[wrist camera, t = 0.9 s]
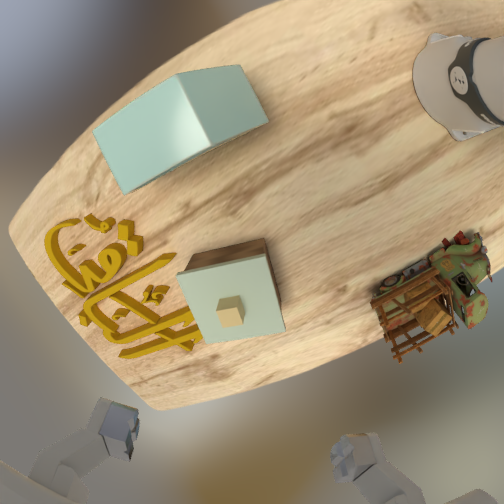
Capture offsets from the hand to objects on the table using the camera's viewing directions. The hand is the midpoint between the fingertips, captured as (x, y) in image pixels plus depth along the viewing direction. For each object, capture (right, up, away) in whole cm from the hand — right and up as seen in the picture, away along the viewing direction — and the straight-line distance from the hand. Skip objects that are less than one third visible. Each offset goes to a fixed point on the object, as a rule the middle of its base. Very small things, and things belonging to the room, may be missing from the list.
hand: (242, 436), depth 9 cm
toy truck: (+33, +3, +37) cm, 50 cm away
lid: (-2, 0, +33) cm, 34 cm away
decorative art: (-25, +1, +43) cm, 50 cm away
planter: (-7, +25, +30) cm, 40 cm away
